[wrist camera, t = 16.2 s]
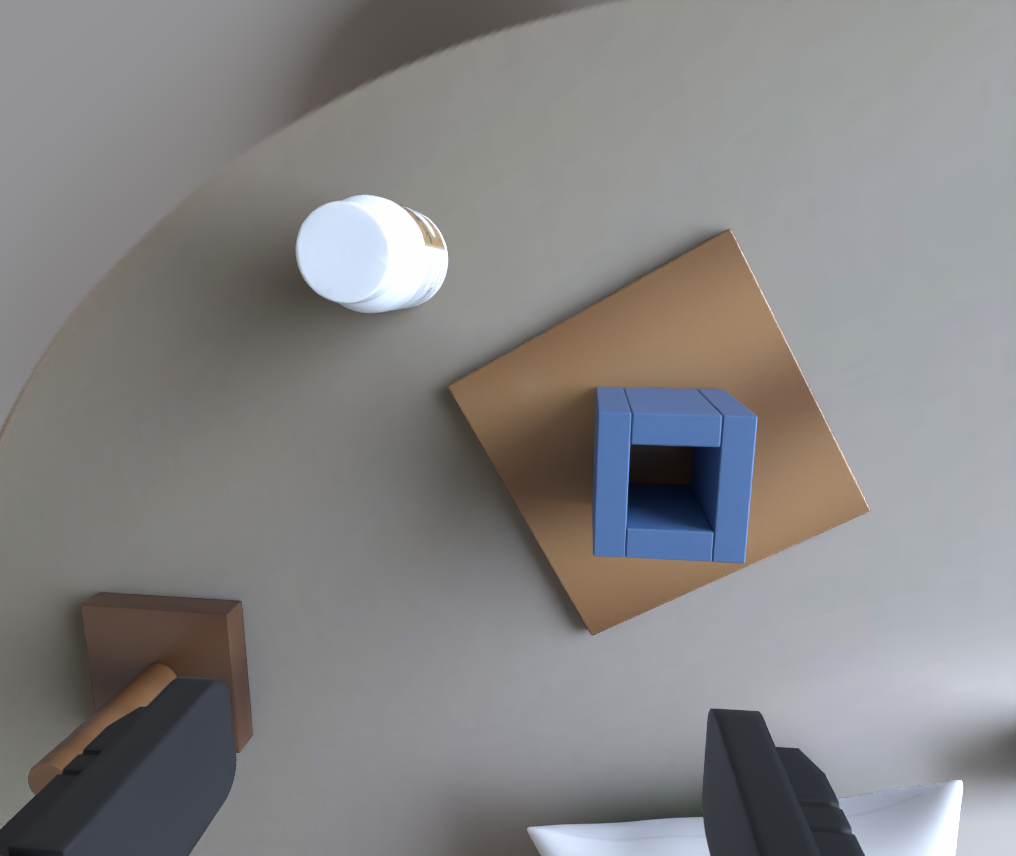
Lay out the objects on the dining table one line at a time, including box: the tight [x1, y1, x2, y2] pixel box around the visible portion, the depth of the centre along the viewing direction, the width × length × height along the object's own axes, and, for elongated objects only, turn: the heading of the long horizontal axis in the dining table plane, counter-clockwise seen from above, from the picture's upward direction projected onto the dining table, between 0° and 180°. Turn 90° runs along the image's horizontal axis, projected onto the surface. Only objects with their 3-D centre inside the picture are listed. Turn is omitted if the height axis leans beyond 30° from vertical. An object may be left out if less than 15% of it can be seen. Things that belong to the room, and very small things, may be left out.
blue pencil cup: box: [592, 387, 757, 563], centre depth 28 cm, size 6×6×6 cm
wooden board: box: [448, 229, 870, 635], centre depth 31 cm, size 14×14×1 cm
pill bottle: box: [296, 195, 448, 313], centre depth 27 cm, size 4×4×8 cm
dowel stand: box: [28, 592, 253, 795], centre depth 32 cm, size 8×8×9 cm
